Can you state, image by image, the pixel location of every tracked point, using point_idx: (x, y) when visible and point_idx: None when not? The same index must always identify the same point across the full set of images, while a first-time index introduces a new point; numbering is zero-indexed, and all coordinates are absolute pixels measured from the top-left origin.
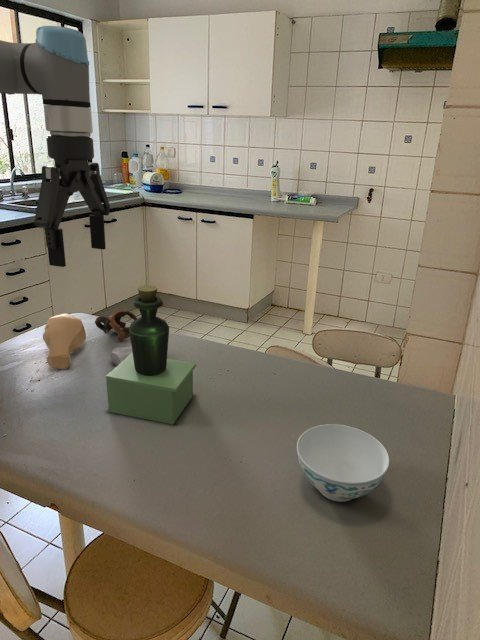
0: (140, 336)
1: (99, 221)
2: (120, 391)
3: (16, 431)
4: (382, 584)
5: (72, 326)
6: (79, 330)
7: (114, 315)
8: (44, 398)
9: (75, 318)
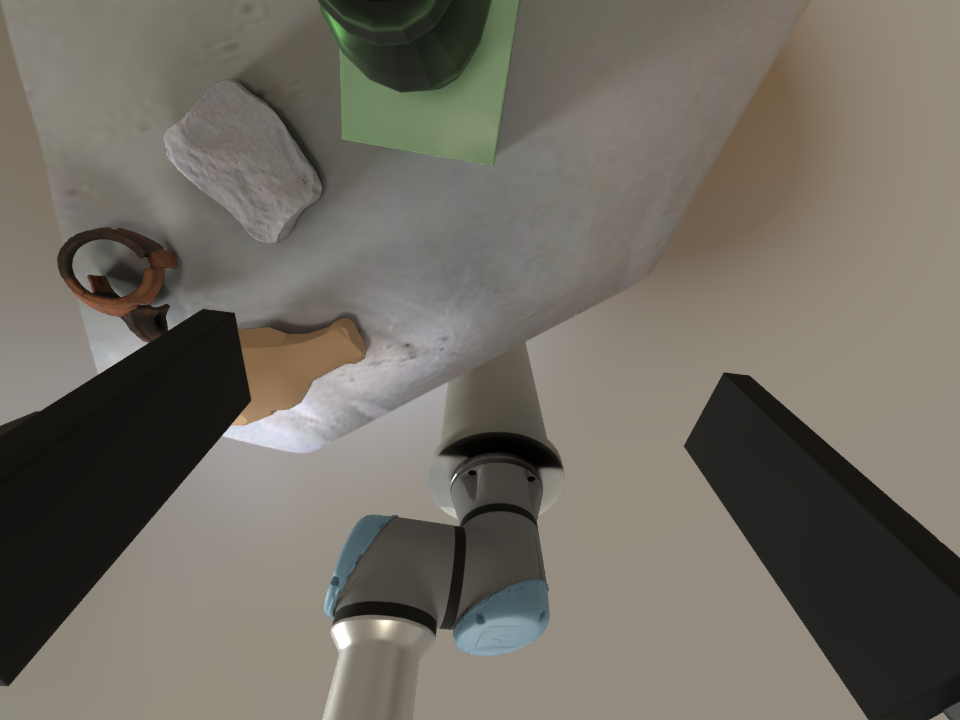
0: (491, 2)
1: (10, 520)
2: None
3: (567, 303)
4: None
5: None
6: None
7: (115, 300)
8: (464, 308)
9: None
